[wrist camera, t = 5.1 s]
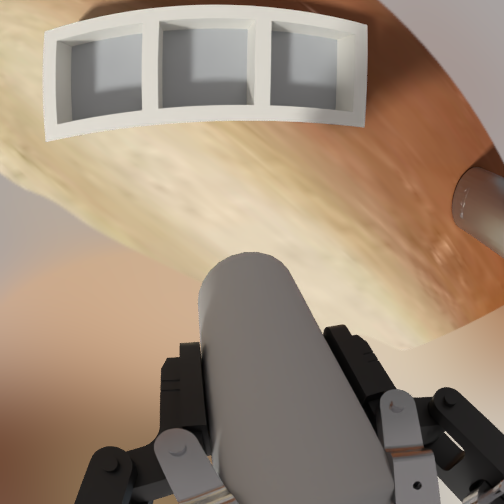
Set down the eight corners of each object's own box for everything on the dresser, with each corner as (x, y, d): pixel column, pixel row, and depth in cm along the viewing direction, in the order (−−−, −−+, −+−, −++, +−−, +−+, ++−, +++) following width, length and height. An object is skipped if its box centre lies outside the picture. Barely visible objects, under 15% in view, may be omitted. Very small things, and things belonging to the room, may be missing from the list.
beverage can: (204, 332, 16) (237, 562, 6) (189, 253, 14) (214, 556, 3) (291, 318, 17) (379, 525, 6) (293, 240, 14) (442, 485, 4)
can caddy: (346, 32, 22) (367, 25, 19) (343, 122, 26) (364, 127, 23) (63, 38, 18) (44, 31, 14) (64, 135, 22) (45, 141, 19)
